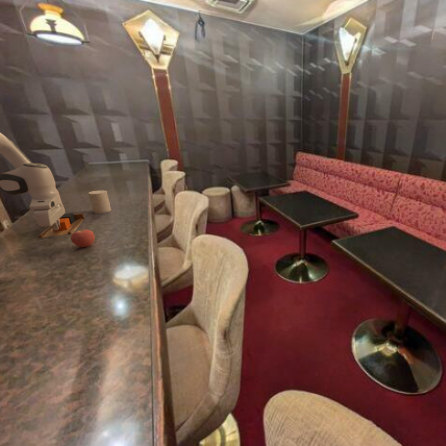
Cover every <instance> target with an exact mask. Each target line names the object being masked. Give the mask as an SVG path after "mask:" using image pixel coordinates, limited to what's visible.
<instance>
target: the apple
mask: <svg viewBox="0 0 446 446" xmlns="http://www.w3.org/2000/svg"><path fill="white" fill-rule="evenodd" d="M95 237H96V236H95V233H94V232H93V231H92V230H90V229H79V230H77V231H76V230H75V231H74V232H73V234H71V236H70V241H71V242H72V244H74V245H75V246H76V247H78V248H88V247H90V246H92V245H93V244H94V242H95V240H96V239H95Z"/></svg>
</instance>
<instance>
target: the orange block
mask: <svg viewBox="0 0 446 446" xmlns="http://www.w3.org/2000/svg"><path fill="white" fill-rule="evenodd" d="M59 220H60V228H59V229H58V230H53V231H60V230H67V229H68V228H69V227H70V226H71V224H70V221H69V218H64V219H59ZM52 229H53V227H52Z"/></svg>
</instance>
